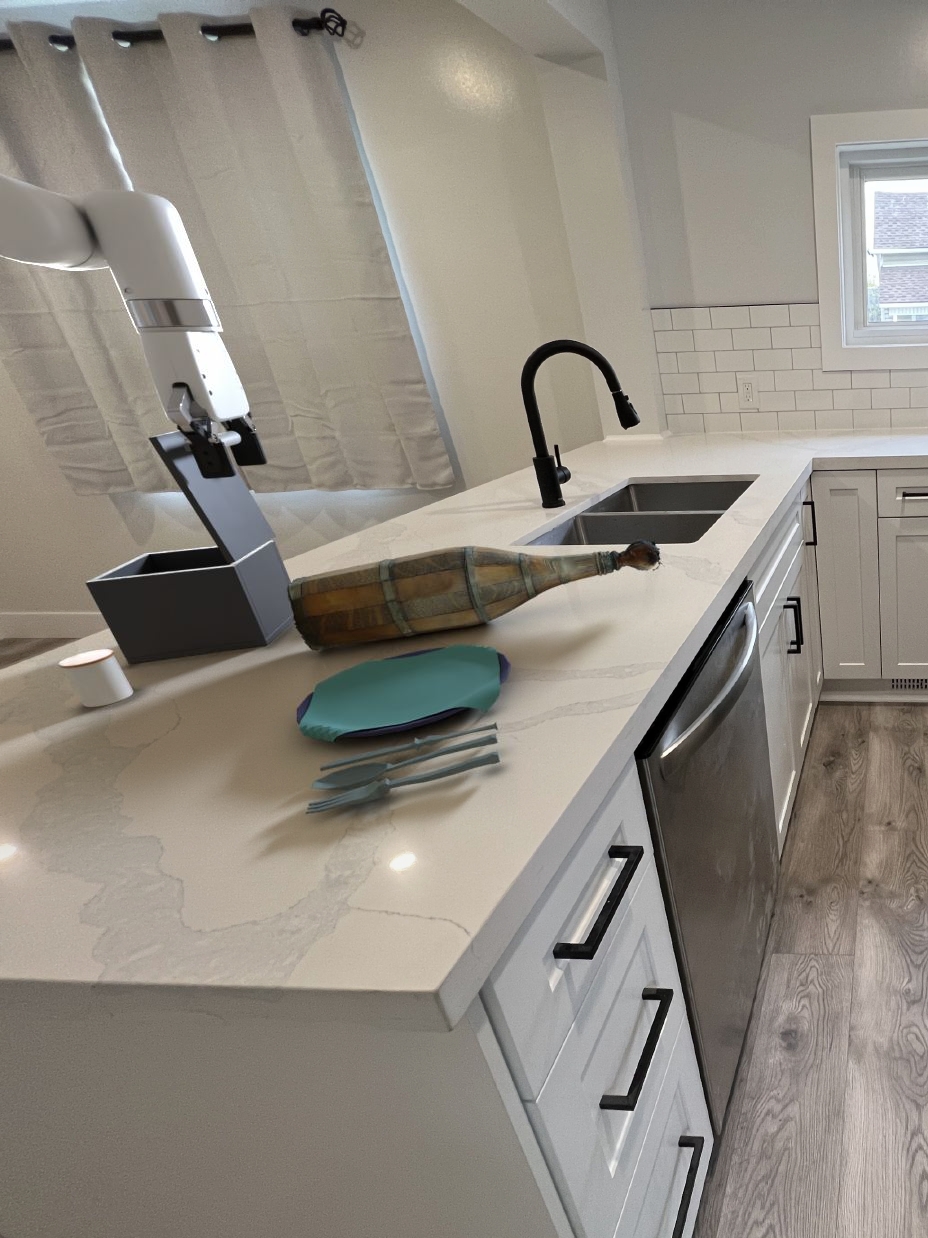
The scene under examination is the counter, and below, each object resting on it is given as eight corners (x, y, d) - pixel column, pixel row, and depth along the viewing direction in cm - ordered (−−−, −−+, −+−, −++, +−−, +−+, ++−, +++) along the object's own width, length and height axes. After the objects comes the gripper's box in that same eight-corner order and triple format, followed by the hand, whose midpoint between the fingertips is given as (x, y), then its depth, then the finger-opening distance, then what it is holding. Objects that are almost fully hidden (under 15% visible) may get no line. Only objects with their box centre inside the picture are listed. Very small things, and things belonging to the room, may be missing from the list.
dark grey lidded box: (128, 664, 86) (84, 582, 82) (180, 627, 97) (144, 553, 92) (267, 645, 90) (233, 566, 86) (303, 611, 101) (274, 540, 97)
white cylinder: (73, 710, 75) (48, 668, 73) (97, 693, 79) (74, 652, 77) (121, 703, 77) (98, 661, 74) (142, 686, 80) (121, 646, 78)
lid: (147, 437, 78) (195, 428, 79) (202, 425, 89) (244, 416, 90) (228, 563, 85) (271, 553, 86) (270, 537, 96) (308, 528, 97)
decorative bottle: (286, 648, 81) (673, 582, 96) (269, 561, 82) (657, 510, 97) (324, 658, 91) (669, 597, 107) (309, 580, 92) (654, 531, 107)
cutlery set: (510, 647, 87) (505, 630, 86) (526, 766, 63) (520, 745, 62) (320, 685, 79) (313, 667, 78) (254, 838, 55) (242, 815, 54)
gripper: (175, 321, 86) (233, 462, 94) (87, 318, 71) (163, 487, 79) (247, 319, 88) (298, 458, 96) (176, 316, 73) (242, 480, 81)
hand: (237, 470), depth 87 cm, fingers open, 8 cm apart
